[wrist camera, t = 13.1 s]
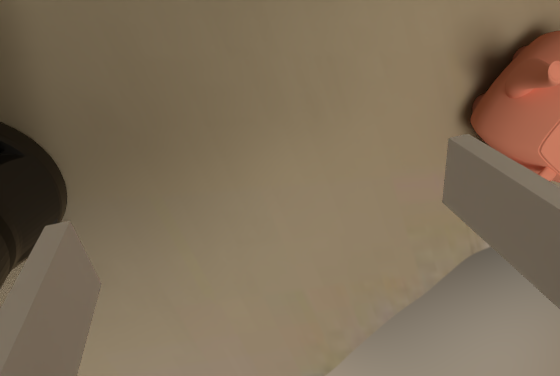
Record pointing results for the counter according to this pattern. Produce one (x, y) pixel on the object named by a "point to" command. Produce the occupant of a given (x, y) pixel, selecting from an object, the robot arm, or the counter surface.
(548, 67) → the teapot
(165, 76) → the counter surface
